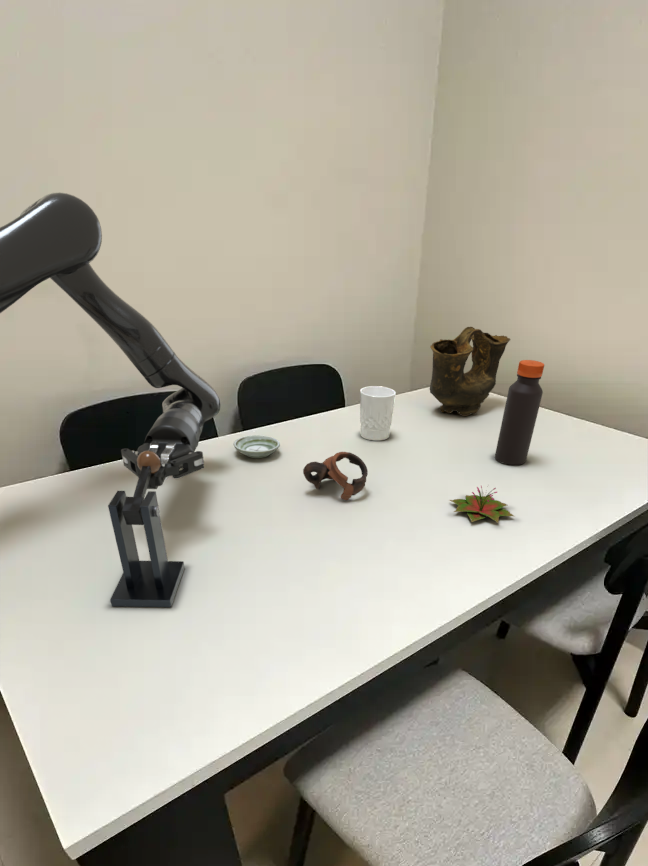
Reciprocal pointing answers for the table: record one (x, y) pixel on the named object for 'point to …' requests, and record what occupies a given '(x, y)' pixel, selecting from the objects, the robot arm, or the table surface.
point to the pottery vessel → (473, 385)
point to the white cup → (376, 412)
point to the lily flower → (481, 506)
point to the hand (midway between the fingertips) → (150, 483)
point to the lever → (140, 487)
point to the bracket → (143, 578)
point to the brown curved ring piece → (337, 473)
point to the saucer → (257, 445)
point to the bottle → (520, 414)
